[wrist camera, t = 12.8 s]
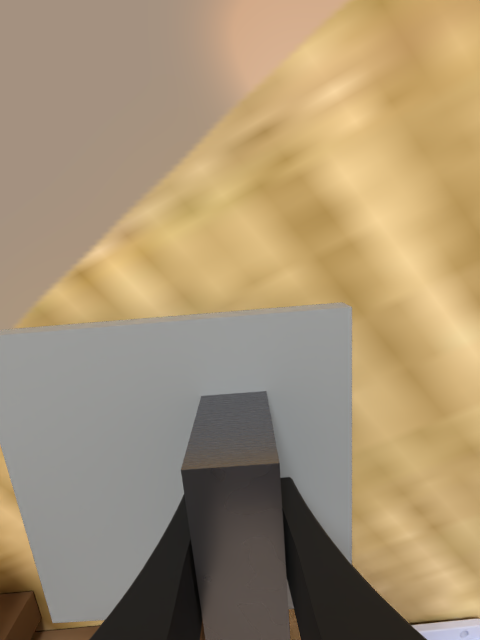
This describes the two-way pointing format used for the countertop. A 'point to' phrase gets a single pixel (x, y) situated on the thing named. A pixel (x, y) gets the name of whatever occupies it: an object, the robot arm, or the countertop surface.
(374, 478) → the countertop surface
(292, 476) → the lid
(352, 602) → the robot arm
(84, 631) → the box
